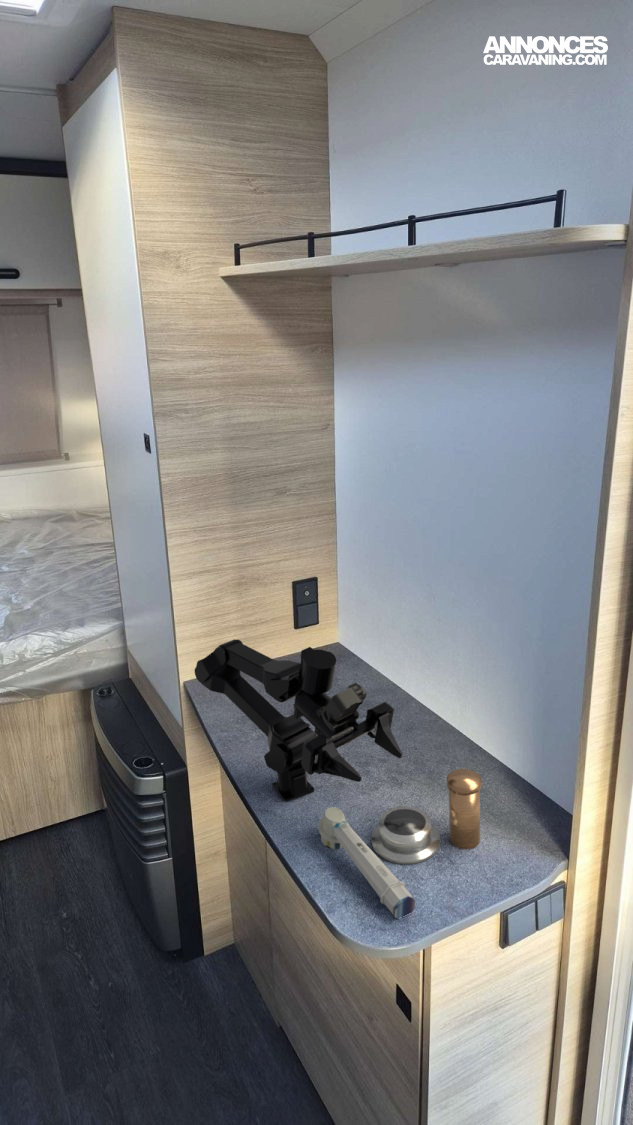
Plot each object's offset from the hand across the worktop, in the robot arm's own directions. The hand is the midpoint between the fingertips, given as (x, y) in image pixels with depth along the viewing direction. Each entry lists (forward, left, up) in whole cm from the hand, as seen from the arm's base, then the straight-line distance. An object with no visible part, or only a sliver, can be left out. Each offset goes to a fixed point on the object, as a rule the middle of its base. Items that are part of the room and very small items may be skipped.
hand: (381, 767), depth 131 cm
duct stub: (0, +4, -17) cm, 17 cm away
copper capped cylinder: (+5, +13, -17) cm, 22 cm away
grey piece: (+2, -6, -17) cm, 18 cm away
